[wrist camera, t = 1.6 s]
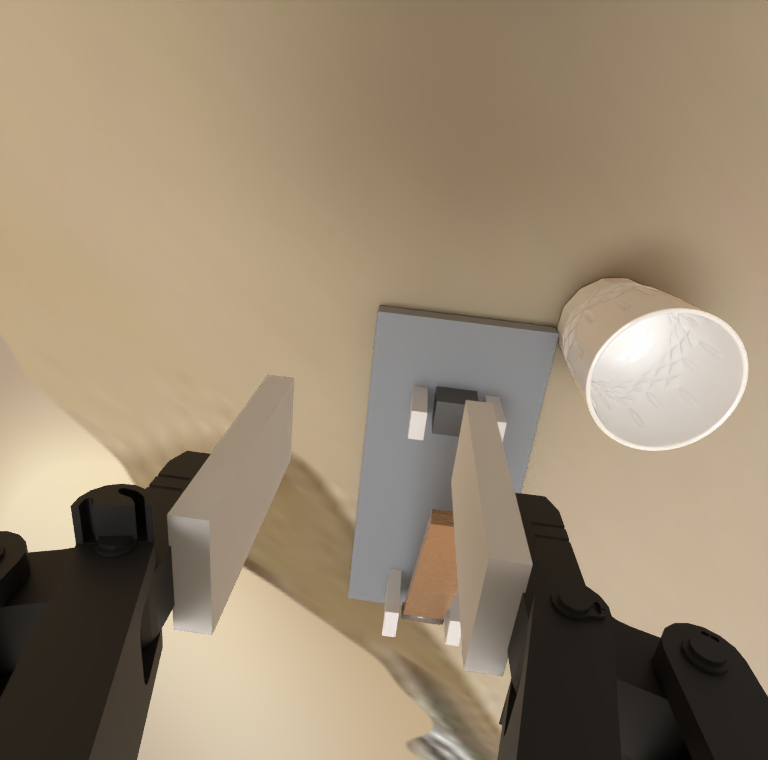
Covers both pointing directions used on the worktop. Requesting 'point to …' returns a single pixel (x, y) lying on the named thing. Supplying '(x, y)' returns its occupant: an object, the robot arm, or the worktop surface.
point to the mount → (435, 433)
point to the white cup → (651, 364)
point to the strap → (433, 573)
